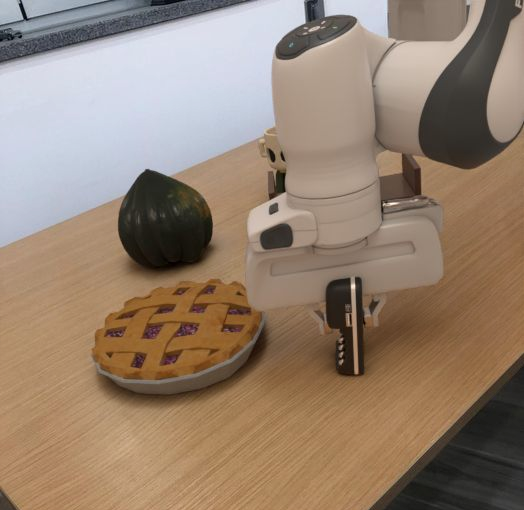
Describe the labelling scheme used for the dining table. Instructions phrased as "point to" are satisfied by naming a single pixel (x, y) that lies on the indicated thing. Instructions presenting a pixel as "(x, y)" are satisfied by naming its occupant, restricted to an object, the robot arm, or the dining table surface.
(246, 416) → the dining table surface
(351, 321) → the battery charger
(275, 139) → the character mug
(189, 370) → the pie
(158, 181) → the squash
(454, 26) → the paper bag
